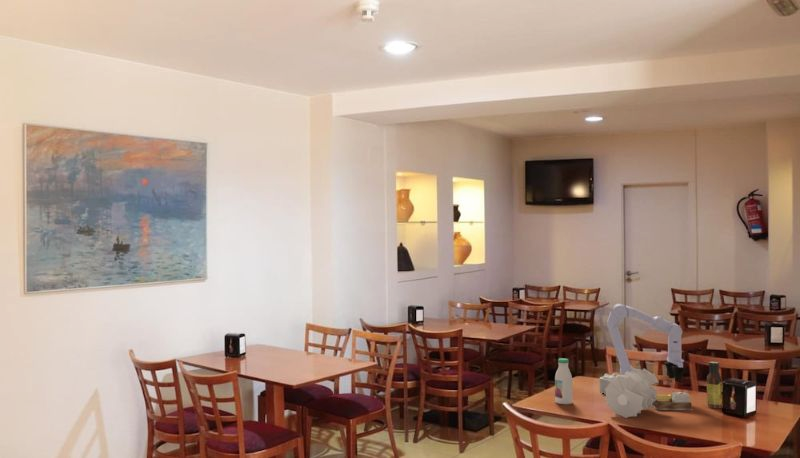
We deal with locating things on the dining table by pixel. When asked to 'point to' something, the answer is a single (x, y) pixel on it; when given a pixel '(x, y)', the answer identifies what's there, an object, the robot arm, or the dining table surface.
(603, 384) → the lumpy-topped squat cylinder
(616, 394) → the spiral staircase
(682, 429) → the dining table surface
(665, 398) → the lever
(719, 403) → the sauce bottle
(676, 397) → the white block with knob
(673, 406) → the tan flat board
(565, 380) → the milk bottle
